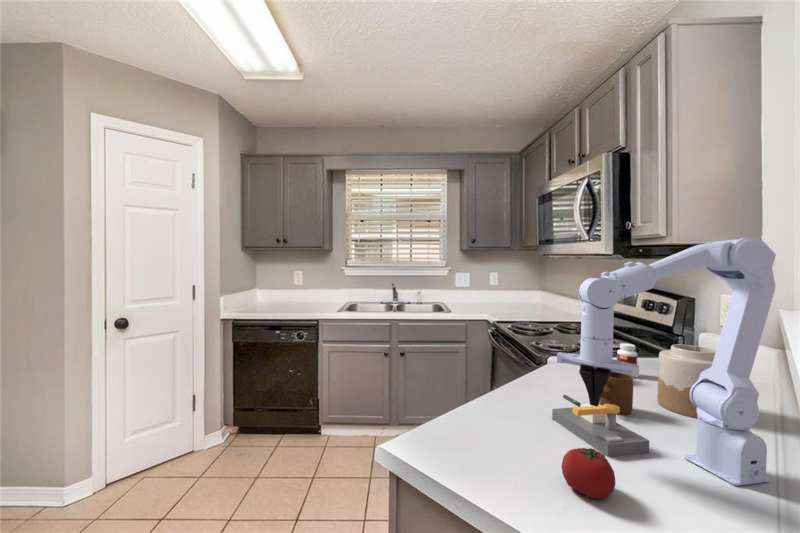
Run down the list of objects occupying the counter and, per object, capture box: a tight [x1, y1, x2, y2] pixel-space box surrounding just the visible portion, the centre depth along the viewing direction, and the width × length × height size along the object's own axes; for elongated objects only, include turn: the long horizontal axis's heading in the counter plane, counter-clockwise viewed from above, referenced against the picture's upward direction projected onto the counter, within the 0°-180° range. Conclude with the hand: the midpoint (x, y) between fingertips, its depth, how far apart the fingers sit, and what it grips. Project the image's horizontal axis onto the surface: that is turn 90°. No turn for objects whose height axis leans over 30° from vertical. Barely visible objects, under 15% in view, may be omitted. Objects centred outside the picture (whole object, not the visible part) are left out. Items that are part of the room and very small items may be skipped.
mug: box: [599, 372, 634, 416], centre depth 96 cm, size 12×8×9 cm, turn 120°
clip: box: [572, 404, 620, 416], centre depth 79 cm, size 10×3×1 cm, turn 102°
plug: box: [562, 394, 606, 423], centre depth 89 cm, size 12×4×3 cm, turn 12°
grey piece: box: [551, 407, 650, 458], centre depth 82 cm, size 18×10×6 cm, turn 12°
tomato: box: [561, 447, 617, 500], centre depth 61 cm, size 8×8×7 cm
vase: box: [657, 343, 716, 419], centre depth 99 cm, size 15×15×17 cm
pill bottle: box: [616, 342, 638, 378], centre depth 129 cm, size 6×6×11 cm
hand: (594, 404), depth 73 cm, fingers closed
